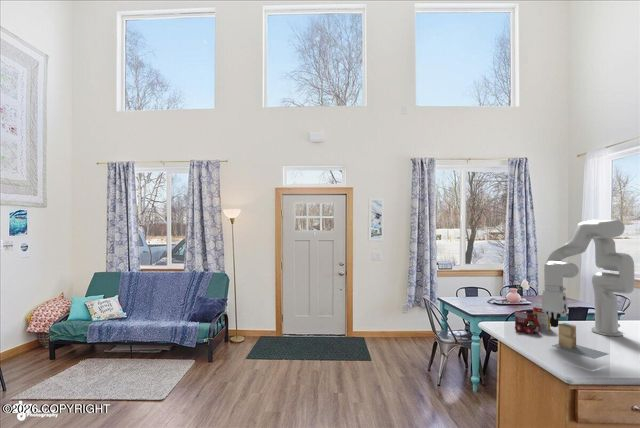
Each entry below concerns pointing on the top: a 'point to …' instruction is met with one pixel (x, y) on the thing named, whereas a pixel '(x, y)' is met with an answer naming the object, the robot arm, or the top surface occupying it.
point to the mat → (583, 351)
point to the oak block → (567, 335)
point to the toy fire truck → (526, 323)
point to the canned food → (541, 317)
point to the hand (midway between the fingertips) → (554, 326)
